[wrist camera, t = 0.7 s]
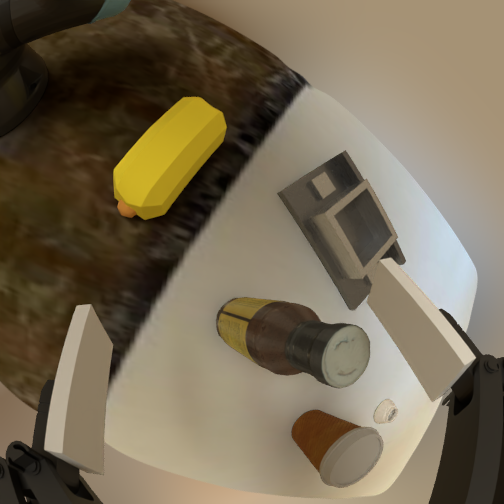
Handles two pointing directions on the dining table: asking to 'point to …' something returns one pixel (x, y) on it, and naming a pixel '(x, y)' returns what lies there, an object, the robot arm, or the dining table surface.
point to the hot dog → (167, 158)
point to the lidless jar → (385, 412)
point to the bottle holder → (343, 225)
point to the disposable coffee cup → (337, 447)
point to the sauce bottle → (294, 340)
